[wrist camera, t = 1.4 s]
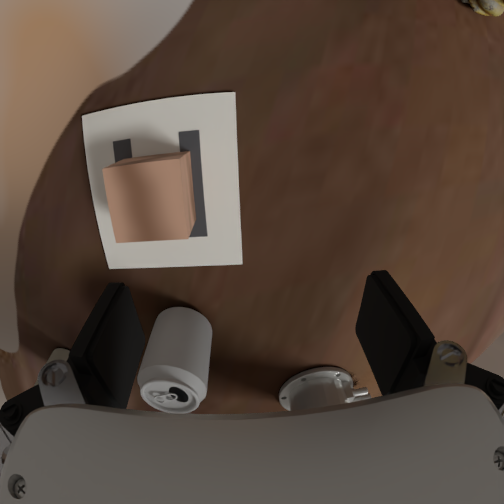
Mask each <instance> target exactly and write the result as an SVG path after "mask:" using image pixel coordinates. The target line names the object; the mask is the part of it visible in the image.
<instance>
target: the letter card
mask: <svg viewBox="0 0 504 504" xmlns="http://www.w3.org/2000/svg"><path fill="white" fill-rule="evenodd" d="M82 124H83V135H84V144H85V153H86V160H87V168H88V174H89V180H90V186H91V192H92V198H93V203H94V208H95V213H96V218H97V222H98V227H99V231H100V235H101V240H102V244H103V248H104V251H105V255H106V259H107V263H108V266H109V269H122V268H154V267H183V266H210V265H234V264H243V262H242V242H241V221H240V200H239V177H238V153H237V128H236V101H235V92H224V93H210V94H198V95H189V96H180V97H172V98H165V99H158V100H152V101H146V102H141V103H135V104H130V105H125V106H120V107H115V108H111V109H107V110H102V111H98V112H94V113H90V114H87V115H83V116H82ZM185 151H190V156H191V169H192V181H193V192H194V202H195V212H196V221H195V223H194V226H193V228H192V231H191V233H190V236H189V239H181V240H162V241H144V242H127V243H116V240H115V236H114V232H113V227H112V222H111V217H110V212H109V207H108V201H107V196H106V190H105V184H104V177H103V171H102V169H103V168H105V167H107V166H109V165H111V164H114V163H116V162H118V161H120V160H123V159H127V158H134V157H141V156H149V155H157V154H166V153H175V152H185Z"/></svg>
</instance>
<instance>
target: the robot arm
mask: <svg viewBox="0 0 504 504" xmlns="http://www.w3.org/2000/svg"><path fill="white" fill-rule="evenodd" d="M356 334H357V337H358V339H359V341H360V344H361V346H362V348H363V350H364V353H365V355H366V357H367V360H368V362H369V364H370V367H371V369H372V372H373V374H374V376H375V379H376V381H377V384H378V386H379V389H380V391H381V394H382V395H383V396H380V397H375V398H371V396H370V393H368V389H367V387H363V388H359V389H353V380H352V378H351V375H350V374H349V373H348V372H347V371H345V370H343V369H340V368H336V367H319V368H314V369H310V370H307V371H304V372H301V373H299V374H297V375H295V376H293V377H292V378H290V379H289V380H288V381H286V382H285V383H284V384H283V386H282V387H281V389H280V391H279V401H280V404H281V405H282V406H283V407H284V408H285V409H287V410H289V411H282V412H269V413H252V414H180V413H163V412H151V411H140V410H130V409H126V407H127V404H128V400H129V396H130V393H131V389H132V386H133V382H134V379H135V375H136V372H137V368H138V365H139V362H140V358H141V355H142V352H143V349H144V345H145V336H144V333H143V330H142V327H141V324H140V321H139V318H138V315H137V312H136V309H135V306H134V303H133V299H132V296H131V293H130V290H129V287H128V286H125V285H124V283H109V284H108V285H107V287H106V289H105V290H104V292H103V293H102V295H101V297H100V298H99V300H98V302H97V304H96V305H95V307H94V309H93V310H92V312H91V314H90V316H89V317H88V319H87V321H86V323H85V325H84V326H83V328H82V330H81V332H80V334H79V335H78V337H77V339H76V341H75V343H74V345H73V347H72V349H71V351H70V353H69V355H68V356H69V357H68V359H67V361H65V360H61V359H60V360H53V361H50V362H49V363H47V364H45V365H44V366H43V367H42V369H41V370H40V372H39V375H38V383H39V384H38V385H36V386H34V387H32V388H30V389H28V390H26V391H25V392H23V393H21V394H19V395H17V396H15V397H13V398H12V399H10V400H8V401H7V402H5V403H4V404H3V406H2V407H1V410H0V504H504V379H503V378H502V377H501V376H499V375H496V374H494V373H492V372H489V371H486V370H484V369H482V368H479V367H477V366H474V365H472V364H469V363H467V354H466V352H465V350H464V349H463V348H462V347H461V346H460V345H459V344H457V343H455V342H453V341H448V340H447V341H441V342H438V343H436V341H435V340H434V338H435V337H434V335H433V334H432V332H431V331H430V329H429V328H428V326H427V325H426V323H425V322H424V320H423V319H422V318H421V316H420V315H419V313H418V312H417V310H416V309H415V308H414V306H413V305H412V303H411V302H410V301H409V299H408V298H407V297H406V295H405V294H404V293H403V291H402V290H401V289H400V287H399V286H398V285H397V283H396V282H395V281H394V279H393V278H392V277H391V275H390V274H389V273H388V272H387V271H386V270H381V271H373V272H372V273H371V275H368V276H367V280H366V284H365V289H364V293H363V298H362V302H361V307H360V311H359V315H358V319H357V323H356Z"/></svg>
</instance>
